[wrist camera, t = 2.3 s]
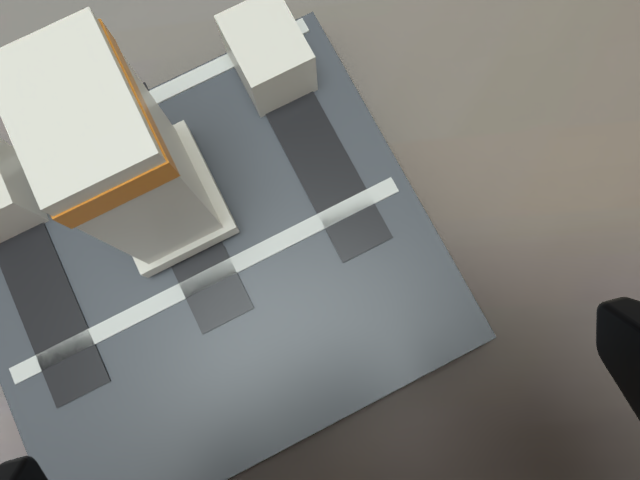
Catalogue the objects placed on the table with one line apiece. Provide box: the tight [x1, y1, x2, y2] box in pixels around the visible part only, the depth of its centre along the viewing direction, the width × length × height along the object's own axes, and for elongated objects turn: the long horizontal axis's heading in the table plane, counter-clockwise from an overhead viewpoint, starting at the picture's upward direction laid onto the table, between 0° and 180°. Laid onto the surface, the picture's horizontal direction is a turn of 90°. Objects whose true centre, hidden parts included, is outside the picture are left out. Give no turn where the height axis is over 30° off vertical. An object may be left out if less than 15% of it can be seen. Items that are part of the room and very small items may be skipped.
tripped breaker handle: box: [0, 7, 240, 278], centre depth 17 cm, size 4×4×8 cm
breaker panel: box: [0, 0, 496, 480], centre depth 21 cm, size 14×16×4 cm
